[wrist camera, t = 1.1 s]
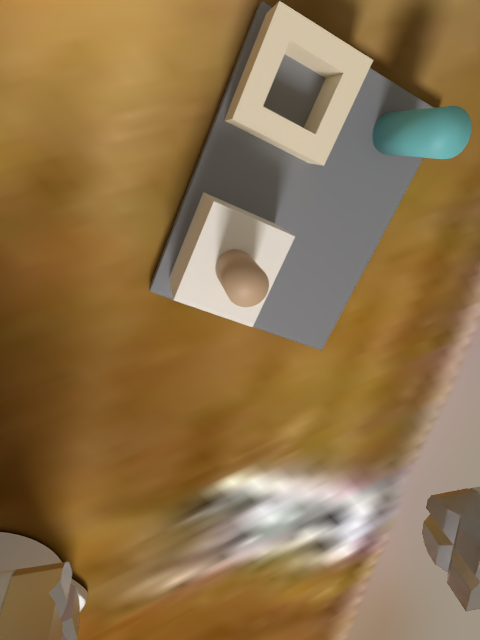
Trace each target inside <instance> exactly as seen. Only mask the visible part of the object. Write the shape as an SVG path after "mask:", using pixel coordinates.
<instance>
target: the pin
mask: <svg viewBox="0 0 480 640" xmlns="http://www.w3.org/2000/svg"><path fill="white" fill-rule="evenodd" d="M470 135H471V120H470V117H469V115H468V114H467V112H466V111H465V110H464V109H462V108H461V107H458V106H448V107H437V108H427V109H416V110H406V111H395V112H389V113H386V114H384V115H383V116H381V117H380V118H379V119H378V121H377V122H376V124H375V126H374V129H373V135H372V138H373V143H374V146H375V148H376V149H377V150H378V151H379V152H380V153H382V154H385V155H397V156H410V157H423V158H437V159H449V158H453V157H455V156H456V155H458V154H459V153H460V152H461V151H462V150H463V149H464V148H465V146H466V145H467V143H468V141H469V138H470Z"/></svg>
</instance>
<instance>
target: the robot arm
mask: <svg viewBox="0 0 480 640" xmlns="http://www.w3.org/2000/svg"><path fill="white" fill-rule="evenodd" d="M426 508H427V510H428V511H429V512H430V515H429V516H428V517H427V519H426V520H425V521H424V523H423V531H422V534H423V538H424V543H425V546H426V548H427V551H428V553H429V555H430V557H431V558H432V560H433V561H434V563H435V565H437V566H438V567H440V568H442V569H443V570H445V571H446V572H448V575H447V583H448V585H449V586H450V588H451V589H452V591H453V592H454V594H455V595H456V597H457V598H458V600H459V601H460V603H461V605H462V606H463V607H464V609H465V611H471V610H476V609H480V487H476V488H470V489H462V490H457V491H452V492H447V493H441V494H436V495H431V497H430V498H429V499H428V501H427V506H426ZM71 578H72V570H71V567H70V564H69V562H62V561H61V560H60V559H59V557H58V556H57V555H56V554H55V553H54V552H53V551H52V550H50V549H49V548H48V547H46V546H45V545H43V544H41V543H39V542H37V541H35V540H33V539H30V538H27V537H24V536H21V535H16V534H11V533H4V532H0V640H76V639H77V638H78V630H79V621H80V611H81V609H82V608H83V607H84V605H85V602H86V598H87V591H86V589H85V588H84V587H83V586H81V585H80V584H79V583H77V582H76V581H74V580H73V579H71Z"/></svg>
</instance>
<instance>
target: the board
mask: <svg viewBox="0 0 480 640" xmlns="http://www.w3.org/2000/svg"><path fill="white" fill-rule="evenodd" d="M372 62H373V60H372V59H371V58H369V57H367V56H366V55H364V54H363V53H361V52H360V51H358V50H356V49H355V48H353V47H352V46H350V45H349V44H347V43H345V42H344V41H342V40H341V39H339V38H337V37H336V36H334V35H333V34H331V33H330V32H328V31H326V30H325V29H323V28H322V27H320V26H318V25H317V24H315V23H314V22H312V21H311V20H309V19H307V18H306V17H304V16H303V15H301V14H300V13H298V12H296V11H295V10H293V9H292V8H290V7H288V6H287V5H285V4H284V3H282V2H281V1H279V2H278V3H277V4H276V5H275V6H273V7H271V6H270V5H268V4H267V3H265V2H263V1H262V2H261V3H260V5H259V6H258V8H257V10H256V13H255V16H254V18H253V21H252V23H251V26H250V28H249V31H248V34H247V36H246V39H245V41H244V44H243V47H242V49H241V52H240V54H239V57H238V59H237V62H236V65H235V67H234V70H233V72H232V75H231V78H230V80H229V83H228V85H227V88H226V90H225V93H224V96H223V98H222V101H221V103H220V106H219V108H218V111H217V114H216V116H215V119H214V121H213V124H212V127H211V129H210V132H209V134H208V137H207V139H206V142H205V145H204V147H203V150H202V152H201V155H200V158H199V160H198V163H197V165H196V168H195V170H194V173H193V176H192V178H191V181H190V183H189V186H188V189H187V191H186V194H185V196H184V199H183V201H182V204H181V207H180V209H179V212H178V214H177V217H176V220H175V222H174V225H173V227H172V230H171V232H170V235H169V238H168V240H167V243H166V245H165V248H164V251H163V253H162V256H161V258H160V261H159V263H158V266H157V269H156V271H155V274H154V276H153V279H152V282H151V284H150V292H153V293H155V294H158V295H161V296H164V297H167V298H170V299H173V295H172V291H171V286H170V281H169V277H170V275H171V272H172V270H173V267H174V265H175V262H176V260H177V257H178V255H179V252H180V250H181V247H182V244H183V242H184V239H185V237H186V234H187V232H188V229H189V227H190V224H191V222H192V219H193V217H194V214H195V212H196V209H197V207H198V204H199V202H200V199H201V197H202V194H203V192H204V193H207V194H209V195H211V196H214V197H216V198H218V199H220V200H223V201H225V202H227V203H229V204H232V205H234V206H236V207H239V208H241V209H243V210H245V211H248V212H250V213H252V214H255V215H257V216H259V217H261V218H264V219H266V220H268V221H271V222H273V223H275V224H277V225H278V226H280V227H281V228H283V229H284V230H286V231H287V232H289V233H291V234H292V235H294V236H295V238H294V240H293V243H292V245H291V247H290V249H289V251H288V253H287V255H286V257H285V259H284V262H283V264H282V266H281V268H280V270H279V272H278V274H277V276H276V279H275V281H274V283H273V285H272V287H271V289H270V291H269V293H268V296H267V298H266V300H265V302H264V304H263V306H262V308H261V310H260V313H259V315H258V317H257V319H256V321H255V323H254V325H253V327H255V328H258V329H261V330H263V331H266V332H269V333H272V334H275V335H278V336H281V337H284V338H287V339H290V340H293V341H296V342H299V343H301V344H304V345H307V346H310V347H313V348H316V349H319V350H322V349H323V347H324V345H325V343H326V341H327V339H328V338H329V336H330V334H331V332H332V330H333V328H334V326H335V324H336V322H337V321H338V319H339V317H340V315H341V313H342V311H343V309H344V307H345V305H346V304H347V302H348V300H349V298H350V296H351V294H352V292H353V290H354V288H355V286H356V285H357V283H358V281H359V279H360V277H361V275H362V273H363V271H364V269H365V268H366V266H367V264H368V262H369V260H370V258H371V256H372V254H373V252H374V251H375V249H376V247H377V245H378V243H379V241H380V239H381V237H382V235H383V233H384V232H385V230H386V228H387V226H388V224H389V222H390V220H391V218H392V216H393V215H394V213H395V211H396V209H397V207H398V205H399V203H400V201H401V199H402V198H403V196H404V194H405V192H406V190H407V188H408V186H409V184H410V182H411V180H412V179H413V177H414V175H415V173H416V171H417V169H418V167H419V165H420V163H421V162H422V160H423V157H410V156H397V155H385V154H382V153H380V152H379V151H378V150H377V149H376V148H375V146H374V143H373V138H372V135H373V129H374V126H375V124H376V122H377V121H378V119H379V118H380V117H381V116H383V115H384V114H386V113H389V112H395V111H406V110H416V109H427V108H433V107H432V106H430V105H429V104H427V103H425V102H424V101H422V100H421V99H419V98H417V97H416V96H414V95H413V94H411V93H409V92H408V91H406V90H405V89H403V88H401V87H400V86H398V85H397V84H395V83H393V82H392V81H390V80H388V79H387V78H385V77H384V76H382V75H380V74H379V73H377V72H376V71H374V70H372V69H371V68H370V66H371V64H372Z"/></svg>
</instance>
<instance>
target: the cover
mask: <svg viewBox="0 0 480 640" xmlns="http://www.w3.org/2000/svg"><path fill="white" fill-rule="evenodd" d="M294 238H295V236H294V235H292V234H291V233H289V232H287V231H286V230H284V229H283V228H281V227H280V226H278V225H277V224H275V223H273V222H271V221H268V220H266V219H264V218H261V217H259V216H257V215H255V214H252V213H250V212H248V211H245V210H243V209H241V208H239V207H236V206H234V205H232V204H229V203H227V202H225V201H223V200H220V199H218V198H216V197H214V196H211V195H209V194H207V193H204V192H203V194H202V197H201V199H200V202H199V204H198V207H197V209H196V212H195V214H194V217H193V219H192V222H191V224H190V227H189V229H188V232H187V234H186V237H185V239H184V242H183V244H182V247H181V250H180V252H179V255H178V257H177V260H176V262H175V265H174V267H173V270H172V272H171V275H170V277H169V281H170V286H171V291H172V295H173V300H174V301H177V302H180V303H183V304H186V305H189V306H192V307H195V308H198V309H201V310H204V311H207V312H210V313H212V314H215V315H218V316H221V317H224V318H227V319H230V320H233V321H236V322H239V323H242V324H245V325H248V326H250V327H253V325H254V323H255V321H256V319H257V317H258V315H259V313H260V310H261V308H262V306H263V304H264V302H265V300H266V298H267V296H268V293H269V291H270V289H271V287H272V285H273V283H274V281H275V279H276V276H277V274H278V272H279V270H280V268H281V266H282V264H283V262H284V259H285V257H286V255H287V253H288V251H289V249H290V247H291V245H292V243H293V240H294Z"/></svg>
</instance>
